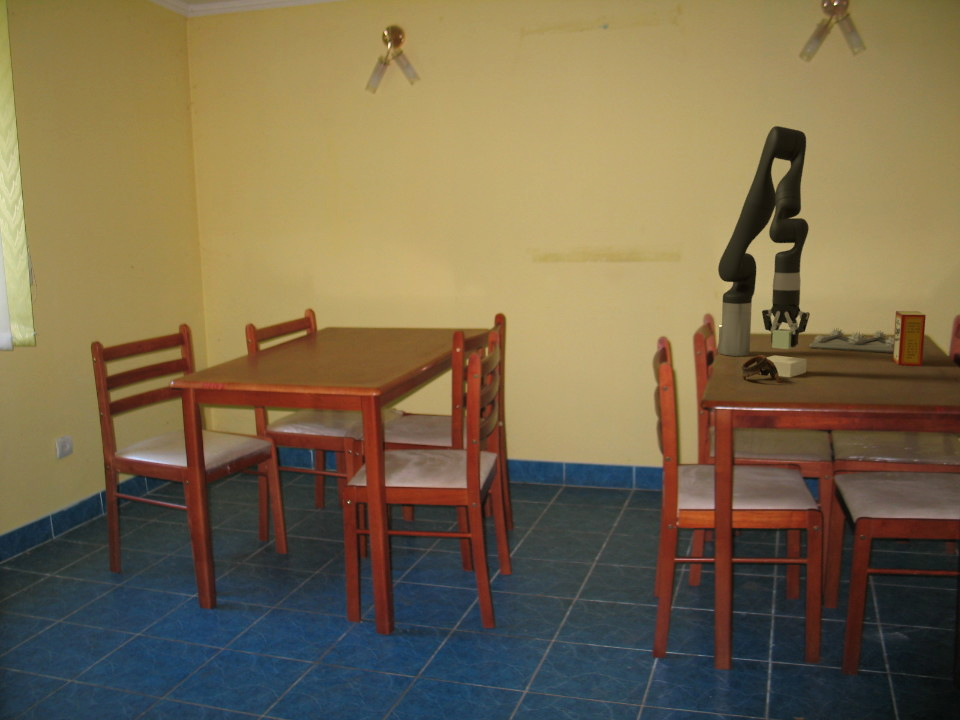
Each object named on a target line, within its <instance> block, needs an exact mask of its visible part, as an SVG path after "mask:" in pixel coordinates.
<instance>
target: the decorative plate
mask: <svg viewBox="0 0 960 720" xmlns="http://www.w3.org/2000/svg"><path fill="white" fill-rule="evenodd" d="M829 332H830V333H829V335H823V334H817V335H816V336H815V337H813V338H814V340H813V341H812V342H811V343H810V344H809V345H808V347H809V349H812V348H821V349H820V350H828V349H837V350H836V351H845V350H853V351H852V352H861V351H870V352H869V353H878V352H886V353H885V354H893V347H894V335H893V336H892V337H891V336H889V337H887V338H886V334H887V333H884V331H882V330H880V329H879V330H876V331H874V332H873V335H872V337H866V335H867V334H864V333H861V332H860V330H859V331H858V330H857V331H856V332H854V331H852V333H850V335H849V336H848V335H847V336H845V335H844V334H845V332H843V329H839V327H837V328H835V327H833V328H832V329H831V330H830V331H829ZM860 333H861V334H860Z"/></svg>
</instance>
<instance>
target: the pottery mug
mask: <svg viewBox="0 0 960 720" xmlns="http://www.w3.org/2000/svg"><path fill="white" fill-rule="evenodd" d="M741 370H742V374H741V376H742V377H741V378H742V379H743V380H744V381H745V380H747V379H746V378H749V377H753V376H754V375H759V376H763V377H767V376H770V380H775V382H776V384H777V383H779V382H780V376H779V375H778V371H777V368H776V367H775V364H774V363H773V362H772V361H771V360H769V359H767V357H766V355H761V354H760V355H756V356H753V357H750V358H749V359H747V361H745V362H743V364H742V366H741ZM769 373H770V375H769Z"/></svg>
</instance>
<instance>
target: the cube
mask: <svg viewBox="0 0 960 720" xmlns="http://www.w3.org/2000/svg"><path fill="white" fill-rule="evenodd" d="M791 335H792V333H791V329H787V328H779V329H778V330H774V331H773V338H772V343H771V344H772V345H771V348H773V349H781V350H783V349H784V350H790V349H791V350H792V349H794V348H796V347H791Z"/></svg>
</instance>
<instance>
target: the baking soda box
mask: <svg viewBox="0 0 960 720" xmlns="http://www.w3.org/2000/svg"><path fill="white" fill-rule="evenodd" d="M926 316H927V315H926V314H925V313H923V312H921V311H917V310H914V311H913V310H911V311H910V310H896V311H895V319H894V321H895V322H894V333H893V334H894V335H893V336H894V347H893V353H892V361H893V362H894V363H895V364H896V365H897V364H898V365H897V366H899V365H902V366H904V365H905V366H904V367H906V366H907V367H923V357H924V341H925V331H926V329H925V328H926V318H927V317H926ZM902 366H901V367H902Z"/></svg>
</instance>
